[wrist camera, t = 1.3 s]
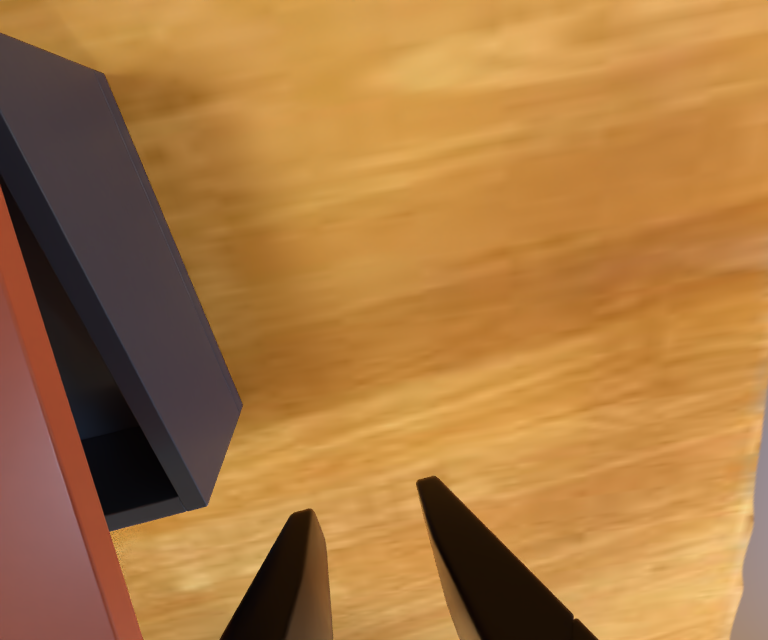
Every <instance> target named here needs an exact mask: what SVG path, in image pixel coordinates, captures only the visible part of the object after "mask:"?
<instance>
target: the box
mask: <svg viewBox="0 0 768 640" xmlns="http://www.w3.org/2000/svg"><path fill="white" fill-rule="evenodd" d="M0 186H1V189H2V192H3V195H4V198H5V202H6V205H7V208H8V211H9V214H10V218H11V221H12V224H13V227H14V230H15V233H16V237H17V240H18V243H19V246H20V249H21V253H22V256H23V259H24V262H25V265H26V268H27V272H28V275H29V278H30V281H31V284H32V288H33V291H34V294H35V297H36V300H37V303H38V307H39V310H40V313H41V316H42V319H43V322H44V326H45V329H46V332H47V335H48V338H49V342H50V345H51V348H52V351H53V354H54V357H55V361H56V364H57V367H58V370H59V373H60V377H61V380H62V383H63V386H64V389H65V392H66V396H67V399H68V402H69V405H70V408H71V412H72V415H73V418H74V421H75V424H76V427H77V431H78V434H79V437H80V440H81V443H82V446H83V450H84V453H85V456H86V459H87V462H88V466H89V469H90V472H91V475H92V478H93V481H94V485H95V488H96V491H97V494H98V497H99V501H100V504H101V507H102V510H103V513H104V516H105V520H106V523H107V526H108V529H109V532H110V531H114V530H118V529H121V528H125V527H129V526H133V525H137V524H140V523H144V522H148V521H152V520H156V519H160V518H163V517H167V516H171V515H175V514H179V513H183V512H186V511H191V510H195V509H198V508H202V507H206V506H207V505H208V503H209V500H210V497H211V494H212V491H213V489H214V486H215V483H216V480H217V477H218V474H219V472H220V469H221V466H222V463H223V460H224V457H225V455H226V452H227V449H228V446H229V443H230V440H231V438H232V435H233V432H234V429H235V426H236V424H237V421H238V418H239V415H240V412H241V409H242V407H243V404H242V402H241V400H240V397H239V395H238V392H237V390H236V388H235V385H234V383H233V380H232V378H231V376H230V373H229V371H228V368H227V366H226V364H225V361H224V359H223V357H222V354H221V352H220V349H219V347H218V345H217V342H216V340H215V337H214V335H213V333H212V330H211V328H210V325H209V323H208V321H207V318H206V316H205V314H204V311H203V309H202V306H201V304H200V302H199V299H198V297H197V294H196V292H195V290H194V287H193V285H192V282H191V280H190V278H189V275H188V273H187V271H186V268H185V266H184V263H183V261H182V259H181V256H180V254H179V251H178V249H177V247H176V244H175V242H174V240H173V237H172V235H171V232H170V230H169V228H168V225H167V223H166V220H165V218H164V216H163V213H162V211H161V208H160V206H159V204H158V201H157V199H156V197H155V194H154V192H153V189H152V187H151V185H150V182H149V180H148V177H147V175H146V173H145V170H144V168H143V165H142V163H141V161H140V158H139V156H138V154H137V151H136V149H135V146H134V144H133V142H132V139H131V137H130V134H129V132H128V130H127V127H126V125H125V122H124V120H123V118H122V115H121V113H120V111H119V108H118V106H117V103H116V101H115V99H114V96H113V94H112V91H111V89H110V87H109V84H108V82H107V80H106V77H105V75H104V74H103V73H101V72H98V71H96V70H93V69H91V68H88V67H86V66H83V65H81V64H78V63H76V62H73V61H71V60H68V59H65V58H63V57H60V56H58V55H55V54H53V53H50V52H48V51H45V50H43V49H40V48H38V47H35V46H33V45H30V44H28V43H25V42H23V41H20V40H17V39H15V38H12V37H10V36H7V35H5V34H2V33H0Z"/></svg>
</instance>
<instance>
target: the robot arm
mask: <svg viewBox="0 0 768 640" xmlns="http://www.w3.org/2000/svg"><path fill="white" fill-rule="evenodd" d="M416 486H417V490H418V495H419V499H420V503H421V507H422V512H423V516H424V520H425V524H426V527H427V531H428V535H429V539H430V543H431V547H432V550H433V554H434V558H435V562H436V566H437V570H438V573H439V577H440V581H441V585H442V589H443V592H444V596H445V599H446V603H447V606H448V609H449V611H450V614H451V617H452V620H453V623H454V625H455V628H456V630H457V633H458V636H459V638H460V640H598V639H597V638H596V637H595V636H594V635H593V634H592V633H591V632H590V631H589V630H588V629H587V627H586V626H585V625H584V624H583V623H582V622H581V621H580V620H578V619H574V616H573V614H572V613H571V612H570V611H569V610H568V609H567V608H566V607H565V606H564V605H563V604H562V603H561V602H560V601H559V600H558V599H557V598H556V597H555V596H554V595H553V593H552V592H551V591H550V590H549V589H548V588H547V587H546V586H545V585H544V584H543V583H542V582H541V581H540V580H539V579H538V578H537V577H536V576H535V575H534V574H533V573H532V572H531V571H530V570H529V569H528V568H527V567H526V566H525V565H524V564H523V563H522V562H521V561H520V560H519V559H518V558H517V557H516V556H515V555H514V554H513V553H512V552H511V551H510V550H509V549H508V548H507V547H506V546H505V545H504V544H503V543H502V542H501V541H500V540H499V539H498V538H497V537H496V536H495V535H494V534H493V533H492V532H491V531H490V530H489V529H488V528H487V527H486V526H485V525H484V524H483V523H482V522H481V521H480V520H479V519H478V518H477V517H476V516H475V515H474V514H473V513H472V512H471V511H470V510H469V509H468V508H467V507H466V506H465V505H464V504H463V503H462V502H461V501H460V500H459V499H458V498H457V497H456V496H455V495H454V494H453V493H452V492H451V491H450V490H449V488H448V487H447V486H446V485H445V484H444V483H443V482H442V481H441V480H440V479H439V478H437V477H436V476H431V477H427V478H423V479H419V480H417V482H416ZM220 640H333V630H332V614H331V601H330V588H329V575H328V563H327V550H326V543H325V538H324V535H323V533H322V530H321V527H320V525H319V522H318V519H317V517H316V514H315V512H314V511H313V509H306V510H302V511H298V512H294V513H293V514H291V515H290V517H289V518H288V520H287V522H286V524H285V525H284V527H283V529H282V531H281V533H280V534H279V536H278V538H277V540H276V541H275V543H274V545H273V547H272V548H271V550H270V552H269V554H268V555H267V557H266V559H265V561H264V562H263V564H262V566H261V568H260V569H259V571H258V573H257V575H256V576H255V578H254V580H253V582H252V583H251V585H250V587H249V589H248V590H247V592H246V594H245V596H244V597H243V599H242V601H241V603H240V604H239V606H238V608H237V610H236V611H235V613H234V615H233V617H232V619H231V620H230V622H229V624H228V626H227V627H226V629H225V631H224V633H223V634H222V636H221V638H220Z"/></svg>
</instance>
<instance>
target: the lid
mask: <svg viewBox="0 0 768 640" xmlns="http://www.w3.org/2000/svg"><path fill="white" fill-rule="evenodd" d="M0 640H143V637H142V634H141V631H140V628H139V625H138V621H137V618H136V615H135V612H134V609H133V605H132V602H131V599H130V596H129V593H128V590H127V586H126V583H125V580H124V577H123V574H122V570H121V567H120V564H119V561H118V558H117V555H116V551H115V548H114V545H113V542H112V539H111V536H110V532H109V529H108V526H107V523H106V520H105V516H104V513H103V510H102V507H101V504H100V501H99V497H98V494H97V491H96V488H95V485H94V481H93V478H92V475H91V472H90V469H89V466H88V462H87V459H86V456H85V453H84V450H83V446H82V443H81V440H80V437H79V434H78V431H77V427H76V424H75V421H74V418H73V415H72V412H71V408H70V405H69V402H68V399H67V396H66V392H65V389H64V386H63V383H62V380H61V377H60V373H59V370H58V367H57V364H56V361H55V357H54V354H53V351H52V348H51V345H50V342H49V338H48V335H47V332H46V329H45V326H44V322H43V319H42V316H41V313H40V310H39V307H38V303H37V300H36V297H35V294H34V291H33V288H32V284H31V281H30V278H29V275H28V272H27V268H26V265H25V262H24V259H23V256H22V253H21V249H20V246H19V243H18V240H17V237H16V233H15V230H14V227H13V224H12V221H11V218H10V214H9V211H8V208H7V205H6V202H5V198H4V195H3V192H2V189H1V186H0Z"/></svg>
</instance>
